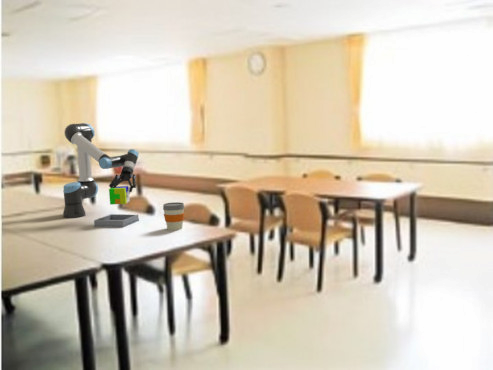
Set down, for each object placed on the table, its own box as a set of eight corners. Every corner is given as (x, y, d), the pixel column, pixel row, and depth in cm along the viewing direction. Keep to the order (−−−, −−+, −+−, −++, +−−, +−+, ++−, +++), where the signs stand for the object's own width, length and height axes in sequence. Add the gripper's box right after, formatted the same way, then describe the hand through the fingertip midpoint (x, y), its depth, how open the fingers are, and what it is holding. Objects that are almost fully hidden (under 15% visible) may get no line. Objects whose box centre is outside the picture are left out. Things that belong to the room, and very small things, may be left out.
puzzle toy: (129, 201, 350) (128, 186, 348) (125, 203, 340) (124, 188, 338) (114, 201, 350) (113, 186, 348) (110, 204, 340) (108, 189, 339)
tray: (94, 226, 335) (94, 220, 334) (111, 220, 354) (110, 214, 354) (123, 227, 329) (123, 220, 329) (138, 220, 349) (138, 214, 348)
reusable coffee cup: (181, 231, 312) (180, 205, 310) (161, 230, 314) (159, 205, 312) (188, 226, 324) (186, 202, 322) (168, 226, 326) (167, 202, 324)
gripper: (146, 172, 357) (137, 199, 345) (114, 173, 363) (105, 199, 350) (142, 165, 351) (133, 192, 339) (109, 166, 357) (100, 192, 344)
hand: (119, 196), depth 345 cm, fingers closed on puzzle toy, 11 cm apart
